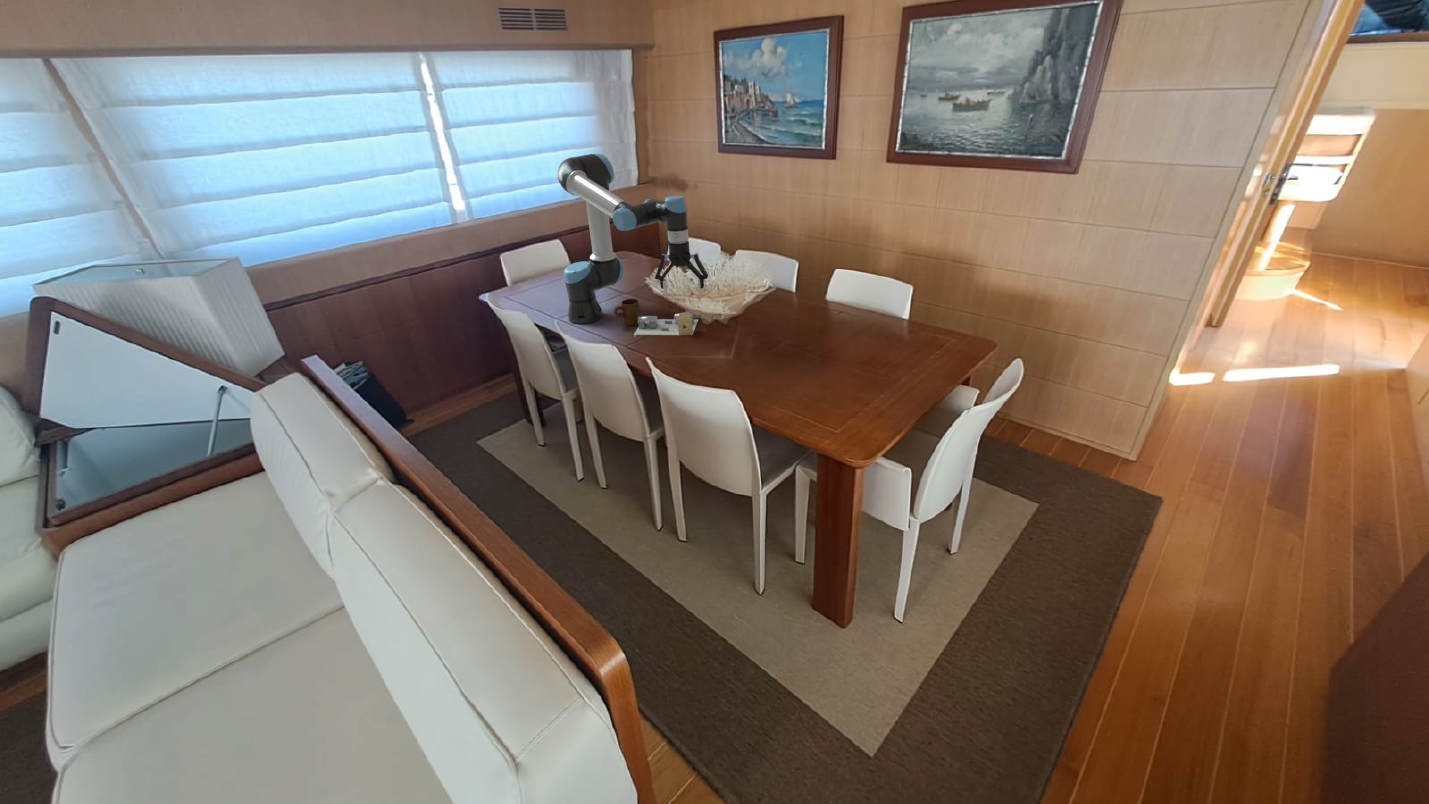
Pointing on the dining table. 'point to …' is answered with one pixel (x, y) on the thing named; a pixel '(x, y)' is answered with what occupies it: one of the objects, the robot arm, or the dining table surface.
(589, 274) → the robot arm
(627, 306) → the mug
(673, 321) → the rig board
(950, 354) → the dining table surface
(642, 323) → the grey mechanical block
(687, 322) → the coupler
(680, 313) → the grey metal block
